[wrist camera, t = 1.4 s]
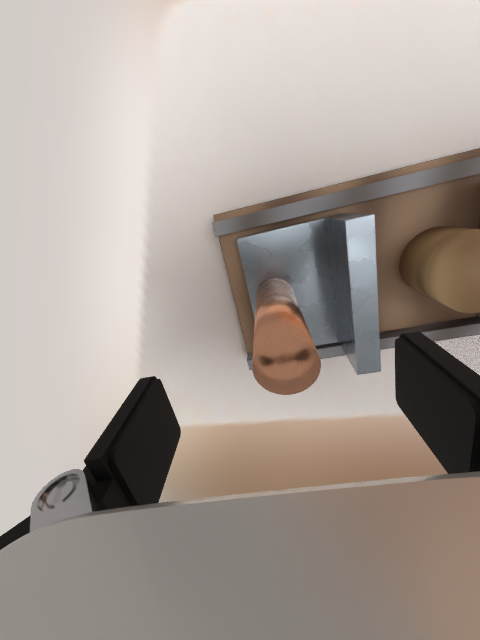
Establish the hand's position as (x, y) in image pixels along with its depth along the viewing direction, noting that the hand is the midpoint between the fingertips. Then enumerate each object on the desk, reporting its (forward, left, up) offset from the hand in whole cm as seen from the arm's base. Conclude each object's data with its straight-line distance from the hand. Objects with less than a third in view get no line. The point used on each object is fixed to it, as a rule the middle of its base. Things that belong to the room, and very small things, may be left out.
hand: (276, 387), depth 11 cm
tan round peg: (-13, 0, -13) cm, 18 cm away
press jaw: (-3, 0, -13) cm, 13 cm away
